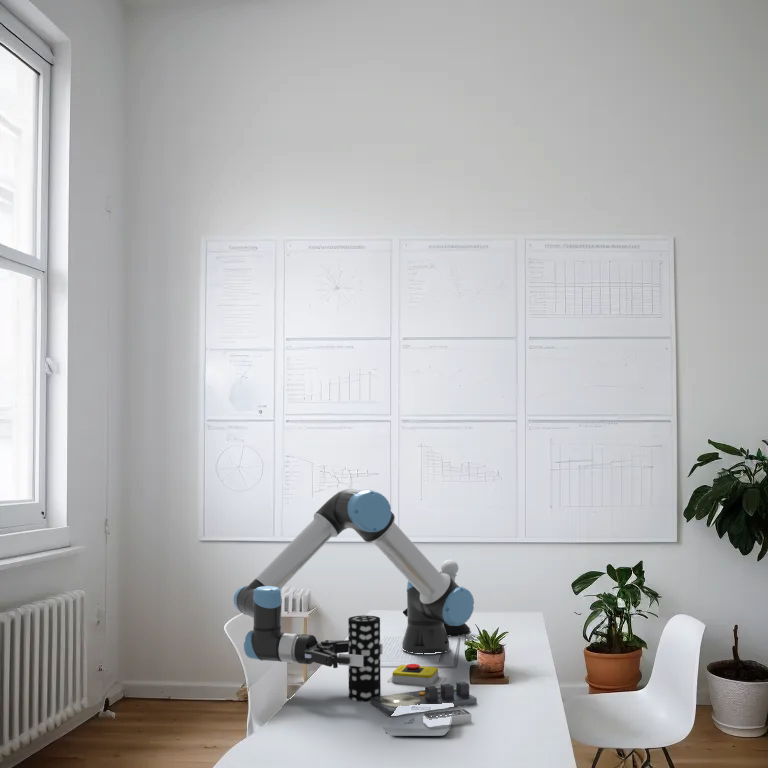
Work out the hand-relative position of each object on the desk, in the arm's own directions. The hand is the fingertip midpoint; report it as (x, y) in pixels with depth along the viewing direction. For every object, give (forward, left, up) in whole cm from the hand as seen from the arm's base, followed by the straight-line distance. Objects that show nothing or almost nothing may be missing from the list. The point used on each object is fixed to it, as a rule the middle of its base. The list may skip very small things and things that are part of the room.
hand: (372, 654), depth 218 cm
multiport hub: (-8, +25, -12) cm, 29 cm away
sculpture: (-52, -64, -11) cm, 83 cm away
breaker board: (-9, +10, -11) cm, 18 cm away
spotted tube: (+2, -2, -11) cm, 11 cm away
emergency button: (-18, -11, -12) cm, 24 cm away
